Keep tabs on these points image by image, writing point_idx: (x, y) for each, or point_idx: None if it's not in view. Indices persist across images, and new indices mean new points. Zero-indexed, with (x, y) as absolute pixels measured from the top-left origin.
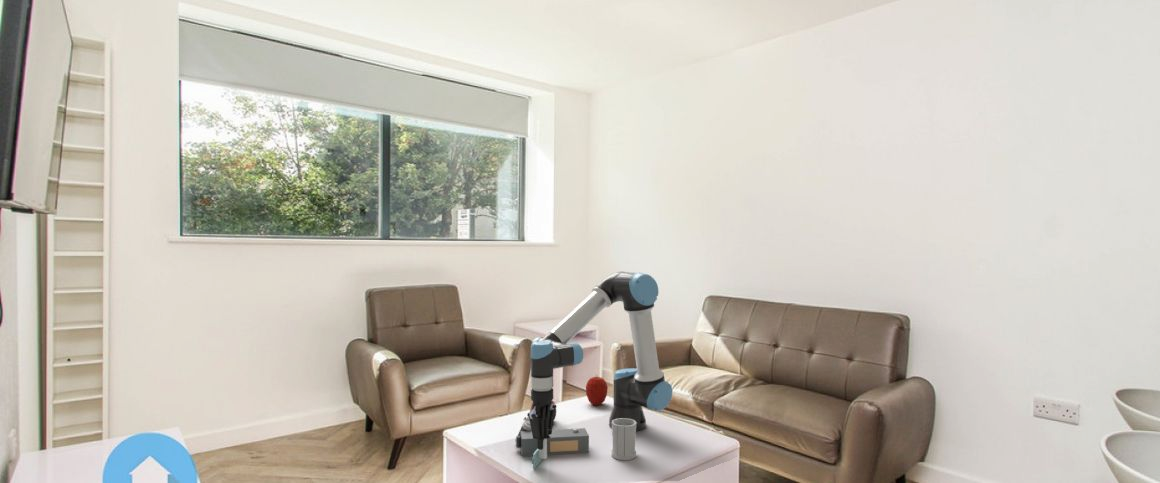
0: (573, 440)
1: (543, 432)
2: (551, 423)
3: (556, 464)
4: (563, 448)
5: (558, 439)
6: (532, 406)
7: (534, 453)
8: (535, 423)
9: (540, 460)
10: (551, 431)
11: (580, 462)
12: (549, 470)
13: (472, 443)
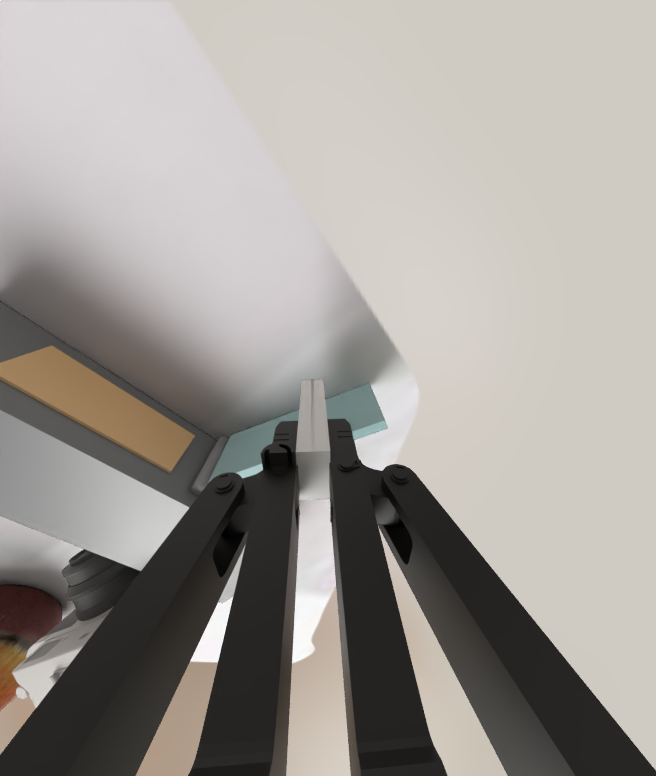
0: (20, 389)
1: (343, 512)
2: (165, 589)
3: (256, 340)
4: (124, 403)
5: (115, 454)
6: (8, 700)
7: (376, 427)
8: (615, 722)
9: (287, 415)
10: (208, 493)
11: (132, 245)
12: (335, 322)
13: (319, 612)
